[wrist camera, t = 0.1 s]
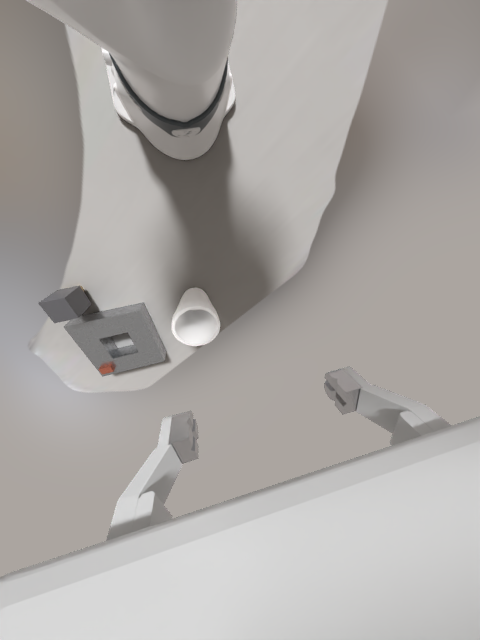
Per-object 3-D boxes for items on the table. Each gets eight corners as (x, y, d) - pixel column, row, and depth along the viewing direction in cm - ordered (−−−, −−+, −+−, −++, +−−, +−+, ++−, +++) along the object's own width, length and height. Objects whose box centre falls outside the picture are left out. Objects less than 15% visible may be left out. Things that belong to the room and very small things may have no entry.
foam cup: (179, 317, 51) (176, 349, 40) (171, 283, 46) (166, 310, 35) (215, 312, 52) (222, 341, 41) (212, 279, 47) (218, 303, 36)
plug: (61, 287, 41) (38, 303, 35) (83, 283, 41) (64, 297, 35) (73, 305, 43) (54, 323, 37) (94, 301, 44) (78, 317, 38)
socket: (73, 317, 45) (61, 329, 41) (143, 302, 46) (138, 312, 42) (108, 365, 54) (101, 379, 49) (166, 351, 55) (164, 363, 51)
